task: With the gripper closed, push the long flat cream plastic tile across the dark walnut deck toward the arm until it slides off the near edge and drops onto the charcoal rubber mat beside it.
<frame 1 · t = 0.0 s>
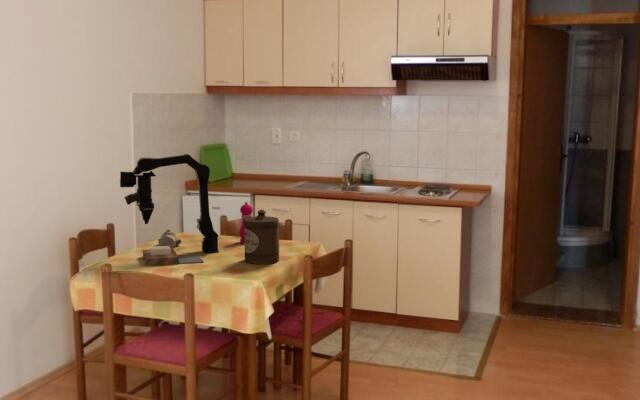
hand: (145, 222, 321), 15 cm above the table, fingers open, 9 cm apart
deck: (160, 260, 313), on the table
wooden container: (261, 261, 315), on the table
mat: (189, 259, 316), on the table
ceramic sculpture: (168, 248, 340), on the table
pepper mill: (246, 243, 352), on the table
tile: (160, 253, 313), point 3 cm above the table, touching deck
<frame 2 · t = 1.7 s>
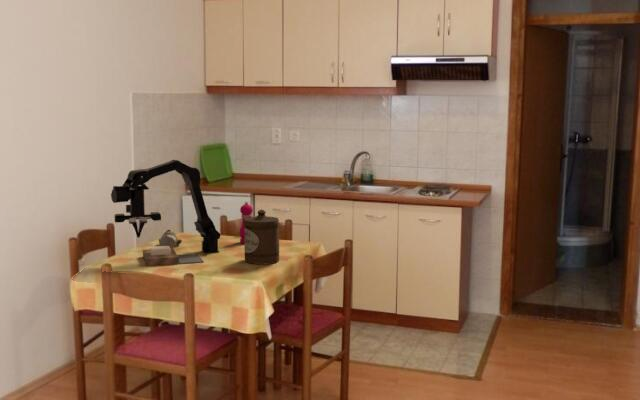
hand: (138, 237, 309), 10 cm above the table, fingers closed
nothing on the table moved.
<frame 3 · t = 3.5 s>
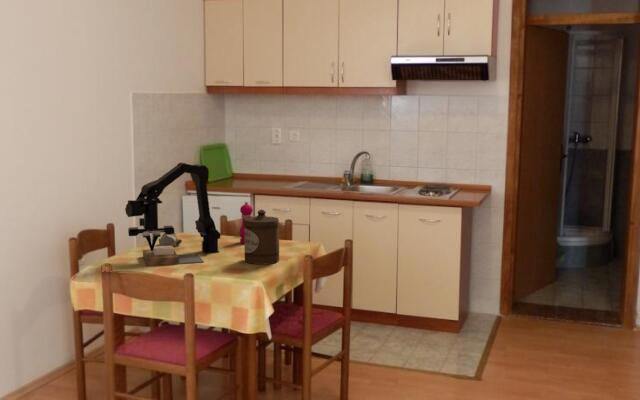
hand: (151, 250, 312), 4 cm above the table, fingers closed
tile: (163, 253, 313), point 3 cm above the table, touching gripper
everything else where it was.
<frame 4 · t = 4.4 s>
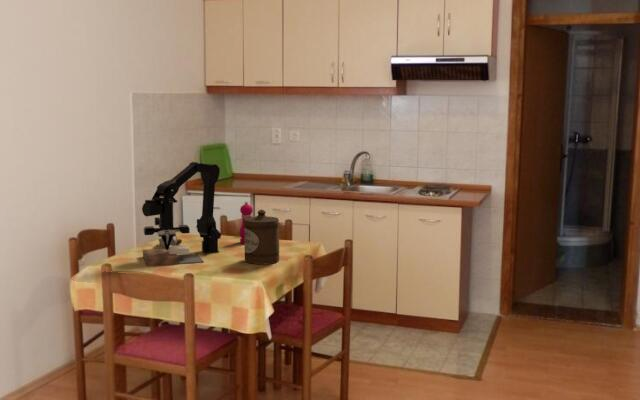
hand: (167, 249, 314), 4 cm above the table, fingers closed
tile: (178, 252, 315), point 3 cm above the table, touching gripper
everything else where it was.
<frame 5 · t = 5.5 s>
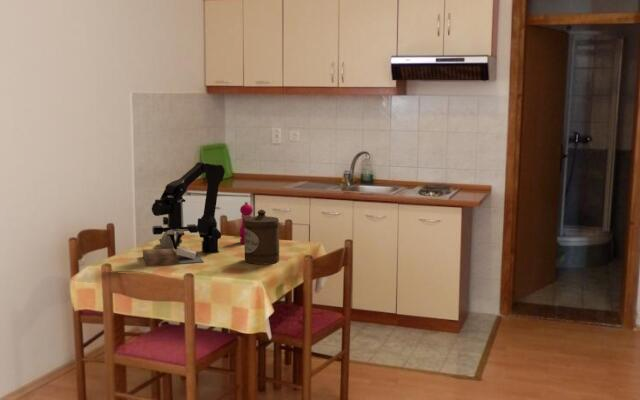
hand: (175, 249, 315), 5 cm above the table, fingers closed
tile: (184, 255, 316), point 2 cm above the table, tilted 19°, touching gripper, mat
everything else where it was.
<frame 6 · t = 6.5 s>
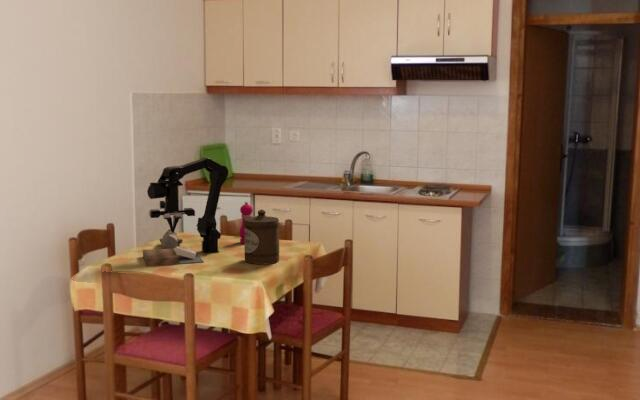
hand: (172, 232, 317), 11 cm above the table, fingers closed
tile: (184, 255, 316), point 2 cm above the table, tilted 19°, touching deck, mat
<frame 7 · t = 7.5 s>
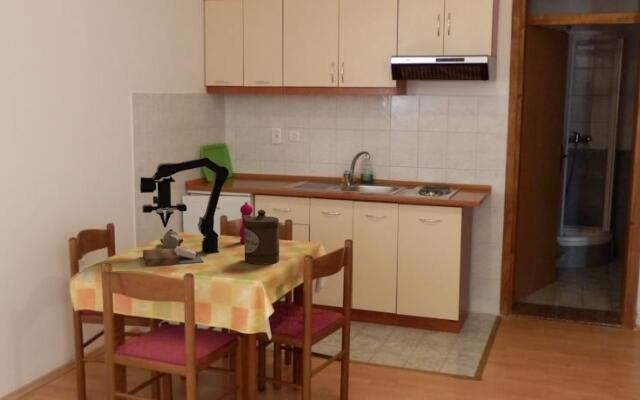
hand: (164, 227, 324), 12 cm above the table, fingers closed
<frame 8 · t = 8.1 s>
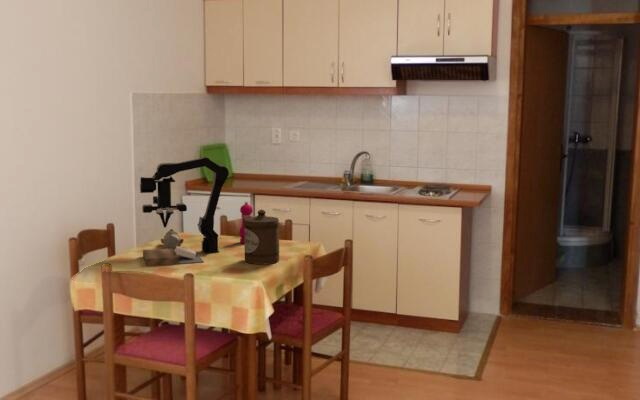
hand: (164, 227, 324), 12 cm above the table, fingers closed
at the end: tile inside the target area (2.5 cm from its centre), point 1.7 cm above the table; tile touching deck, mat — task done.
